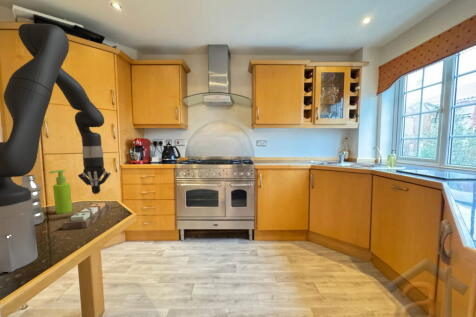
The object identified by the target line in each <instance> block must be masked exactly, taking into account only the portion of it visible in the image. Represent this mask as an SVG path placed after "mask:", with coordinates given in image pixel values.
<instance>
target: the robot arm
mask: <svg viewBox="0 0 476 317" xmlns="http://www.w3.org/2000/svg"><path fill="white" fill-rule="evenodd" d="M18 36H19V37H18V38H20V41H21V43H22V44H23V46H24V47H25V49H26V50H27V52H29V54H30V55H31V56H32V58H31V59H30V60H29V61H27V62H26V63H24V64H23V65H21V66H20V67H18V68H17V69H16V70H14V72H13V73H12V74H11V75H10V77H9V80H8V82H7V84H6V87H5V89H4V92H3V100H4V104H5V107H6V108H7V110H8V113H9V114H10V116H11V117H10V118H11V119H12V126H11V131H10V134H9V136H8V138H7V141H0V274H3V273H2V272H8V273H12V272H14V271H15V270H17V269H20V268H23V267H25V266H27V265H30V264H31V263H33V262H34V261H36V259H38V257H39V255H38V244H37V243H38V242H37V237H36V236H37V235H36V228H35V226H36V225H34V217H33V207H32V199H31V192H30V190H29V189H28V188H25V187H22V186H20V185H19V184H17V183H16V182H14V181H13V180H12V178H18V177H19V178H20V177H22V176H26V175H28V174H29V173H31V172H32V170H33V169H34V168H35V164H36V162H37V158H38V154H39V147H40V141H41V140H40V139H41V134H42V129H43V125H44V121H45V116H46V115H47V114H46V113H47V110H48V108H49V105H50V102H51V99H52V95H53V91H54V88H55V85H57V87H58V88H59V90H61V92H62V94H63V96H64V97H65V99H66V100H67V102H68V103H69V105H70V107H71V108H72V109H73V110H76V111H77V112H76V113H75V115H74V121H75V122H74V123H75V124H76V127H77V130H78V132H79V134H80V137H81V143H82V148H81V151H82V164H83V172H81V173H80V174H78V175H77V176H78V178H79V179H80V180H82V182H83V183H84V184H85V185H87V186H91V192H92V194H93V195H97V194H100V192H101V185H103V184H105V182H106V181H107V180H108V178H109V177H110V176H111V174H112V173H111V172H108V171H106V168H105V163H104V152H103V147H102V146H103V145H102V137H101V134H100V133H99V132H94V131H92V130H91V129H90V128H100V127H102V126H103V125H104V124H105V118H104V115H103V113H102V111H101V110H99V109H98V107H97V106H96V105H95V104H94V103H93V102H92V101H91V100H90V98H89V96H88V94H87V92H86V90H85V89H84V87H83V85H81V84H80V83H79V81H77V79H76V78H74V77H73V76H72V75H70V74H69V73H68V72H66V71H65V70H64V69H63V68H62V67H63V65H64V62H65V61H66V58H67V56H68V54H69V50H70V41H69V40H70V39H69V37H68V35H67V33H66V32H65V31H64V30H63V29H62V27H60V26H58V25H55V24H51V23H29V22H27V23H22V24H20V25H19V27H18ZM102 176H103V177H102Z"/></svg>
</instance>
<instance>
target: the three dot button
mask: <svg viewBox="0 0 476 317" xmlns="http://www.w3.org/2000/svg"><path fill="white" fill-rule="evenodd" d="M97 211H98V207H92V208H89V207H86V208H83V209H82V210H80V212H79V213H87V212H90V214H94V213H96V212H97Z"/></svg>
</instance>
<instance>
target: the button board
mask: <svg viewBox="0 0 476 317" xmlns="http://www.w3.org/2000/svg"><path fill="white" fill-rule="evenodd" d="M111 210H112V205H111V204H105V207H103V208H102V209H98V211H97V212H96V213H94V214H90V217H88V218H87V219H85V220H82V221H71V218H69V219H68V220H66V221H64V222H62V229H63V230H74V229H87V228H89V226H91V225H92V224H94V223H95V222H96V221H97V220H99V219H100V218H101V217H103V216H104V215H106V214H107V213H108V212H110V211H111Z"/></svg>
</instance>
